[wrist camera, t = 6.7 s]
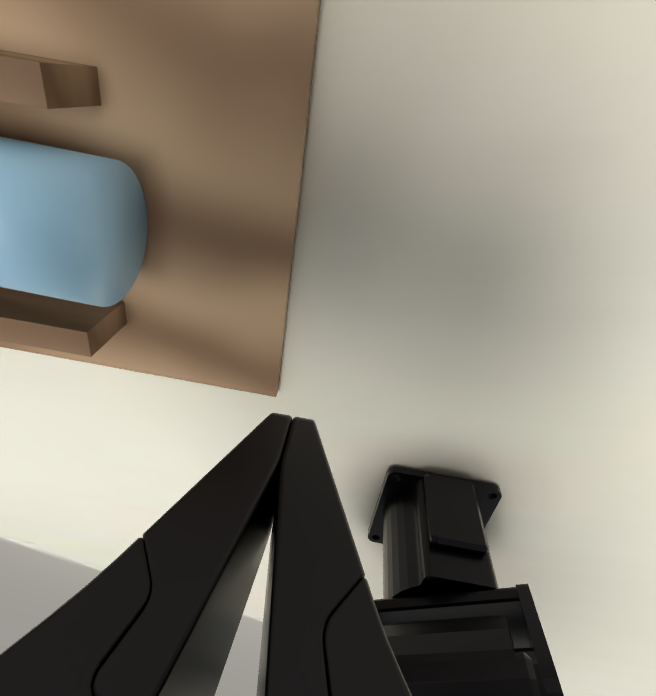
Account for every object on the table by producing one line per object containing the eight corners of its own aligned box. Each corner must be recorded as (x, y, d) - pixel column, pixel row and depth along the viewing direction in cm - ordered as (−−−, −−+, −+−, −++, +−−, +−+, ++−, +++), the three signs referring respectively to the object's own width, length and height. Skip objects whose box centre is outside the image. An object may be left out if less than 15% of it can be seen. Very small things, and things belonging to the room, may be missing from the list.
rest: (278, 389, 22) (262, 437, 19) (-94, 322, 23) (-168, 358, 20) (329, -78, 13) (313, -130, 10) (-314, -188, 13) (-525, -273, 10)
